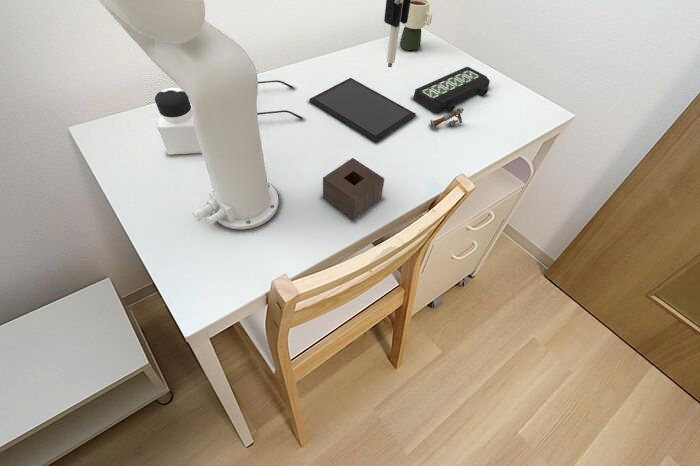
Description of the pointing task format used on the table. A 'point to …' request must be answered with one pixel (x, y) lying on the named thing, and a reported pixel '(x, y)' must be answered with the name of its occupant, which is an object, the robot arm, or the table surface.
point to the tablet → (363, 109)
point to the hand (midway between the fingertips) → (395, 22)
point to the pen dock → (352, 188)
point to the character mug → (415, 24)
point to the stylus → (393, 43)
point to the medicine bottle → (176, 122)
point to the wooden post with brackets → (447, 117)
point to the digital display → (451, 90)
